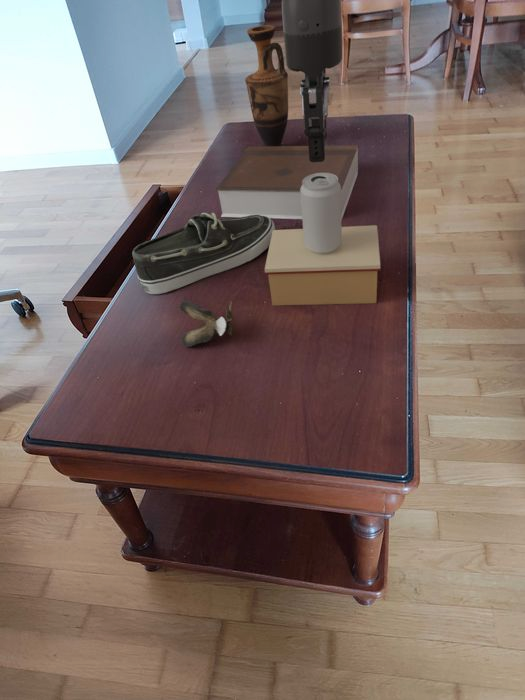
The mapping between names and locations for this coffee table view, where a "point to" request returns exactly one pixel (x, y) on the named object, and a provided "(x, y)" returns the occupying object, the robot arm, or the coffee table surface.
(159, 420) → the coffee table surface
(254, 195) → the book
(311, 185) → the beverage can
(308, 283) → the lidded cardboard box
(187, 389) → the coffee table surface
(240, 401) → the coffee table surface
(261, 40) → the vase
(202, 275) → the boat shoe
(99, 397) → the coffee table surface
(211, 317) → the eagle figurine
